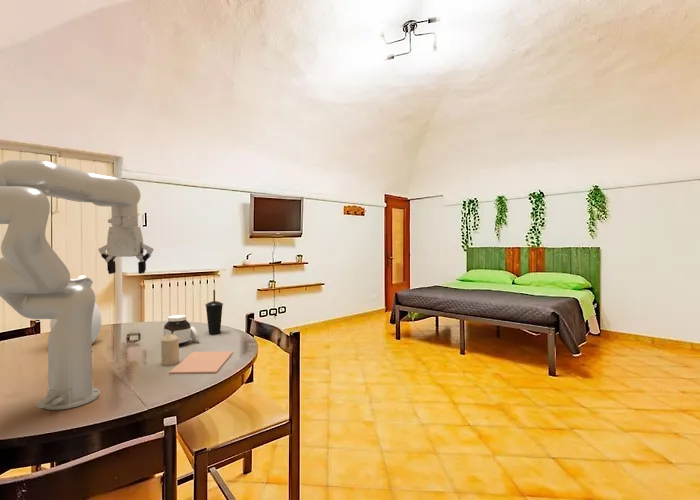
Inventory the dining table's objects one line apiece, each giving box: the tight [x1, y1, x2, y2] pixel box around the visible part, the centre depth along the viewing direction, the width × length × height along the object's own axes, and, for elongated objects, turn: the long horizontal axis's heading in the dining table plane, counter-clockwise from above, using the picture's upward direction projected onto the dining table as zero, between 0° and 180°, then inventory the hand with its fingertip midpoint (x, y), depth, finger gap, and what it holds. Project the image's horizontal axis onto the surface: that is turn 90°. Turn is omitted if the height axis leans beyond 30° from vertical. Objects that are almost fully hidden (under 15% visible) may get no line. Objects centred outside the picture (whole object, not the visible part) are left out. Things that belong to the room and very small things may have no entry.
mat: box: [168, 350, 234, 375], centre depth 135 cm, size 22×15×1 cm
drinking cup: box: [205, 289, 224, 336], centre depth 175 cm, size 8×8×20 cm
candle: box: [160, 334, 180, 366], centre depth 134 cm, size 6×6×10 cm
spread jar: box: [163, 314, 200, 347], centre depth 159 cm, size 12×11×12 cm
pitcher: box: [49, 274, 102, 344], centre depth 159 cm, size 24×17×28 cm
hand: (127, 273), depth 130 cm, fingers open, 9 cm apart
